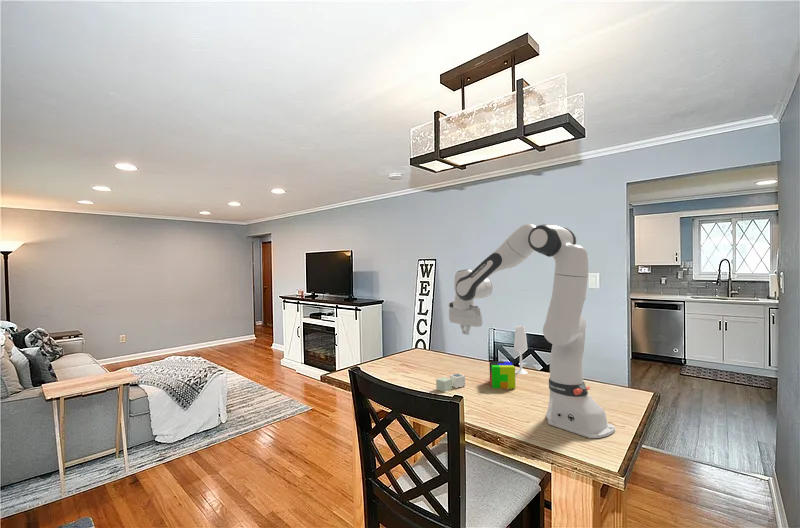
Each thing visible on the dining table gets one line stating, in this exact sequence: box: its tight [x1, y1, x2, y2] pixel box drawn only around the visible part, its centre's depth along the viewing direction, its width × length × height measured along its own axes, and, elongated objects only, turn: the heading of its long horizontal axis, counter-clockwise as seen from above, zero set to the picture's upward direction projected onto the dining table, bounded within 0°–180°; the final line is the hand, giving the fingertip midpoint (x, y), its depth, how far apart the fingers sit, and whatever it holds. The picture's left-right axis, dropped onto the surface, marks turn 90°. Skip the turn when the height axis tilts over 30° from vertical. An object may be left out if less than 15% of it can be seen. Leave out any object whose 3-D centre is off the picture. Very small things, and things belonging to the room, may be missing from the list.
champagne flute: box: [513, 325, 528, 375], centre depth 192 cm, size 7×7×24 cm
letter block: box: [449, 373, 466, 389], centre depth 172 cm, size 5×5×5 cm
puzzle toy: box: [489, 360, 516, 390], centre depth 172 cm, size 10×10×10 cm
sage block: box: [435, 376, 453, 393], centre depth 167 cm, size 5×5×5 cm
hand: (465, 334), depth 170 cm, fingers closed
